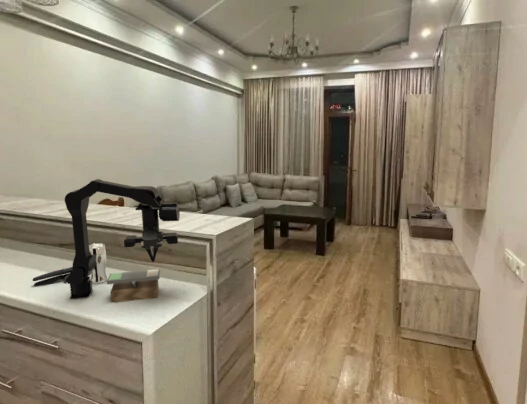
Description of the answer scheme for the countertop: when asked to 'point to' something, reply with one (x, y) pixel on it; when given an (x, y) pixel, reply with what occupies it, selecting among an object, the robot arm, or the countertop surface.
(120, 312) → the countertop surface
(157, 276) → the grey flat panel
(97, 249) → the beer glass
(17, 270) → the countertop surface
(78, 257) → the robot arm
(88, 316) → the countertop surface
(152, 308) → the countertop surface
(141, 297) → the switch base
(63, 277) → the can opener
